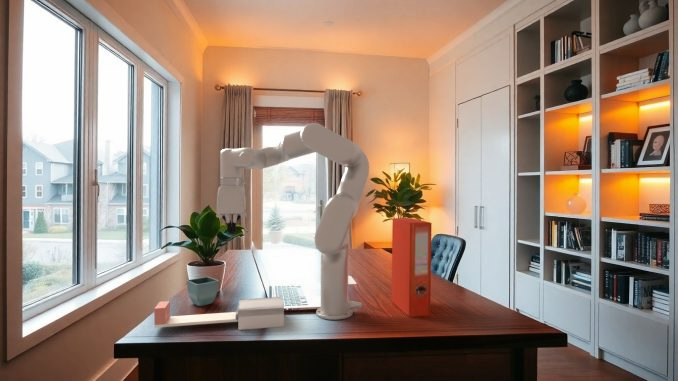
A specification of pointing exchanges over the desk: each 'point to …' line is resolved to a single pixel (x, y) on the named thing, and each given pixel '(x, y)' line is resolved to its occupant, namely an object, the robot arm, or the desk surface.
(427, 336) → the desk surface
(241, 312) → the block
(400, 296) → the file binder
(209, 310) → the desk surface
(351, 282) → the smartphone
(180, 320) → the long cream plank
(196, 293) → the flower pot
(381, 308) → the desk surface
